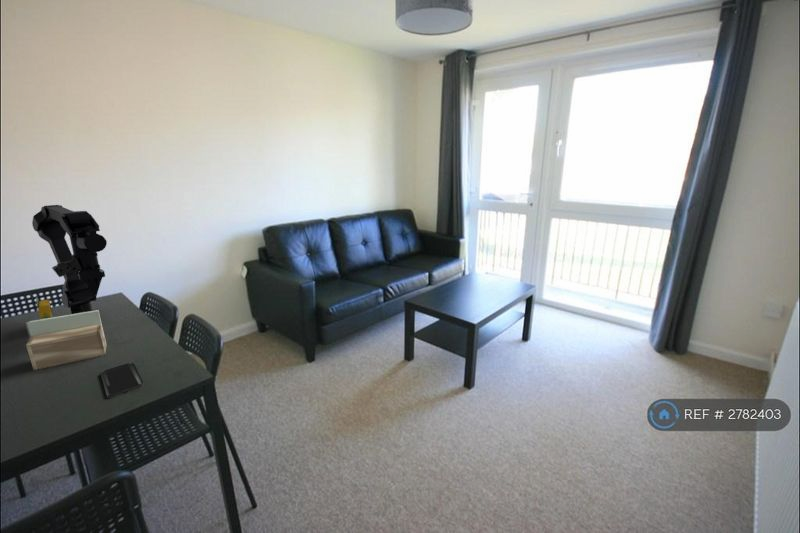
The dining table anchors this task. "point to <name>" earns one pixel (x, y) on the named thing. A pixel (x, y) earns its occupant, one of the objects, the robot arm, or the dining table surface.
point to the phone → (121, 380)
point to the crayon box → (44, 309)
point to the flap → (63, 323)
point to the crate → (66, 346)
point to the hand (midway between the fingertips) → (94, 296)
